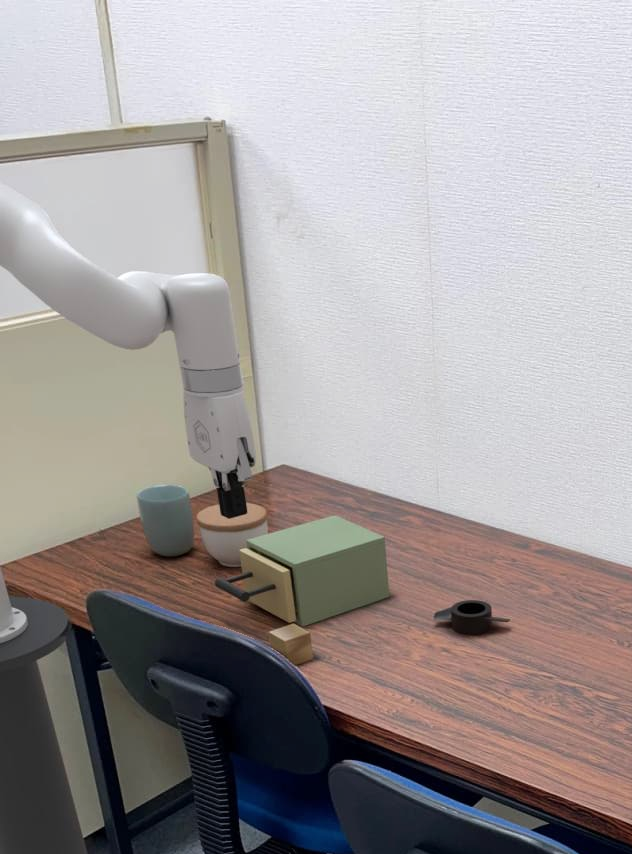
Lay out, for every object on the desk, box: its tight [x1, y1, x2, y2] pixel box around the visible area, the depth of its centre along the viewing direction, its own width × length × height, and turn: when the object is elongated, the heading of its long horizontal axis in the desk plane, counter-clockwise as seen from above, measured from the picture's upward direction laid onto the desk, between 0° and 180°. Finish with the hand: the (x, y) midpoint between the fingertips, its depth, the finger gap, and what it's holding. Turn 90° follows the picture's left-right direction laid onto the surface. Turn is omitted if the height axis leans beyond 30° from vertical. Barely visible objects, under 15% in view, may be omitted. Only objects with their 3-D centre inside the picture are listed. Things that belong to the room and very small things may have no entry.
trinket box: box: [196, 502, 269, 568], centre depth 190 cm, size 11×11×9 cm
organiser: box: [246, 514, 390, 628], centre depth 177 cm, size 16×13×10 cm
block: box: [268, 622, 314, 667], centre depth 162 cm, size 4×4×4 cm
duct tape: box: [433, 599, 511, 636], centre depth 172 cm, size 8×10×3 cm
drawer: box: [214, 548, 298, 624], centre depth 174 cm, size 20×11×8 cm, turn 136°
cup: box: [136, 484, 196, 558], centre depth 192 cm, size 8×8×10 cm
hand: (234, 514), depth 163 cm, fingers closed
